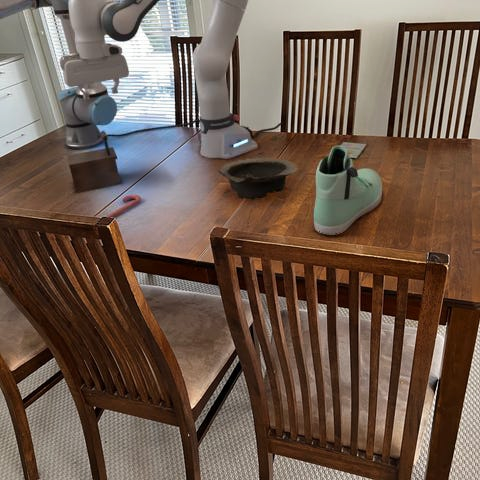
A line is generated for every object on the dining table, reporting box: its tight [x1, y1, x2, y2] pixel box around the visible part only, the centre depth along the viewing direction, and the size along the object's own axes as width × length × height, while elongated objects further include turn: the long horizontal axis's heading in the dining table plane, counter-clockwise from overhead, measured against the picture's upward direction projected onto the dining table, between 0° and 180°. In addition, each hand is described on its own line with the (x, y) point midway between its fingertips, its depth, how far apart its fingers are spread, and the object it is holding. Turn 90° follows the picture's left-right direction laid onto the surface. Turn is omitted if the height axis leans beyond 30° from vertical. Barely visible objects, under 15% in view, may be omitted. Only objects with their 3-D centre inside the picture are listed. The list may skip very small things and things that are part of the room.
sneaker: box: [313, 145, 383, 236], centre depth 133 cm, size 14×35×20 cm, turn 152°
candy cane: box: [106, 194, 142, 218], centre depth 149 cm, size 6×15×2 cm, turn 145°
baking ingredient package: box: [340, 141, 367, 159], centre depth 177 cm, size 9×1×15 cm
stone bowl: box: [217, 157, 299, 201], centre depth 152 cm, size 25×25×9 cm
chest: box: [69, 159, 121, 194], centre depth 165 cm, size 15×10×9 cm, turn 111°
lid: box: [66, 130, 118, 169], centre depth 161 cm, size 16×10×8 cm, turn 111°
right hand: (101, 96), depth 155 cm, fingers open, 8 cm apart
